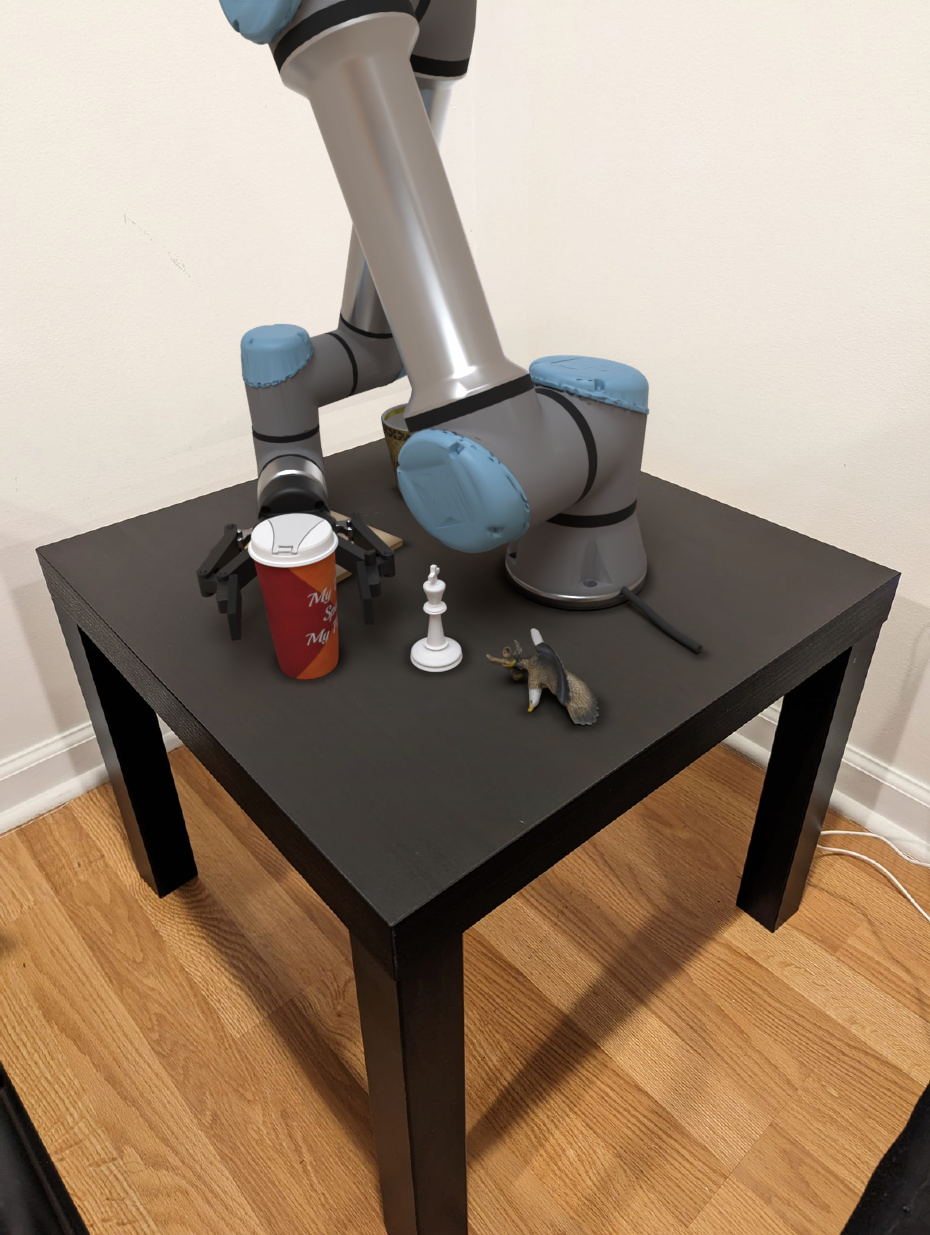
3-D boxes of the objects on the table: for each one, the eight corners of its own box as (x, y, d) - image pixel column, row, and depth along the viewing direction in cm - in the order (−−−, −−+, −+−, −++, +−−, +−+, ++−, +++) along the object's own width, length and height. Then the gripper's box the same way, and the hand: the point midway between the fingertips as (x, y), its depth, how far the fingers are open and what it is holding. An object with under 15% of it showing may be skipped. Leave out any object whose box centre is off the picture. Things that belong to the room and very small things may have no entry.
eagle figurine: (474, 700, 75) (561, 727, 70) (492, 620, 75) (580, 641, 70) (523, 703, 81) (606, 728, 76) (539, 628, 81) (624, 648, 76)
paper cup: (344, 687, 79) (329, 553, 71) (260, 686, 79) (236, 553, 71) (354, 637, 85) (342, 509, 78) (277, 636, 86) (257, 509, 78)
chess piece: (469, 646, 84) (468, 557, 78) (452, 676, 80) (450, 584, 74) (421, 637, 85) (417, 548, 80) (402, 666, 81) (397, 575, 76)
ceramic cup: (441, 513, 107) (439, 436, 101) (371, 498, 111) (365, 423, 105) (484, 472, 117) (485, 400, 111) (419, 460, 120) (416, 389, 115)
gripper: (403, 525, 97) (436, 638, 79) (188, 547, 93) (171, 670, 75) (399, 463, 92) (433, 567, 74) (174, 483, 89) (152, 597, 71)
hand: (301, 619), depth 75 cm, fingers open, 11 cm apart
